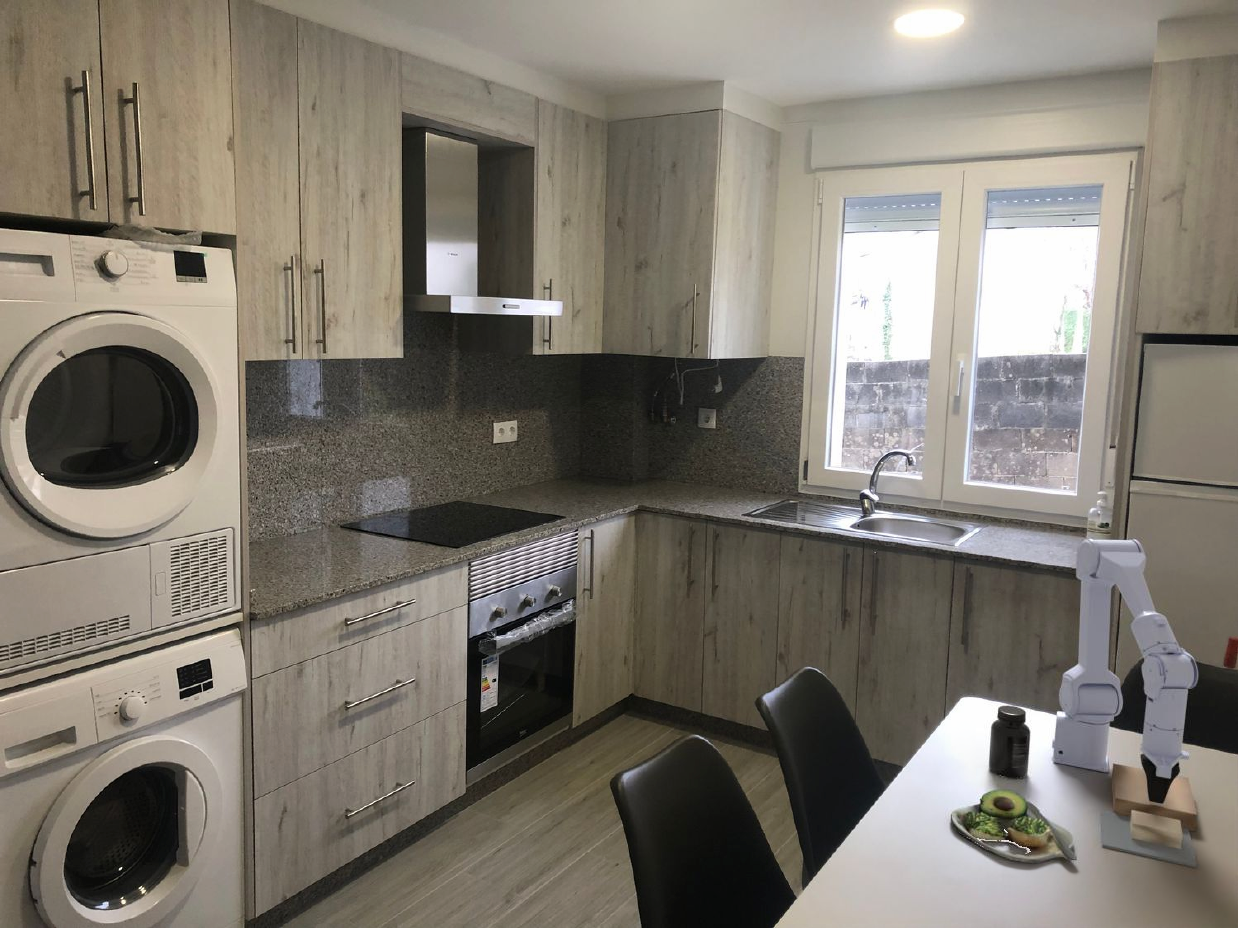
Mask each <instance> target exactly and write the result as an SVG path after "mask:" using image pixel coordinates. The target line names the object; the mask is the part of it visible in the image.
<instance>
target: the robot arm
mask: <svg viewBox="0 0 1238 928" xmlns="http://www.w3.org/2000/svg"><path fill="white" fill-rule="evenodd" d="M1075 561H1076V563H1075V567H1076V568H1075V572H1076V574H1075V576H1076V577H1075V578H1077V579H1078V580H1080V584H1081V585H1080V605H1079V606H1080V611H1079V636H1078V639H1079V640H1078V663H1077V664H1076V665H1075V666H1073V667H1072V668H1070V669H1068V670H1067V671H1065V672H1064V673H1063V674H1062V681H1061V685H1060V688H1059V691H1058V701H1059V705H1060V708H1061V710H1062V711H1059V710H1058V711H1056V719H1055V729H1054V730H1055V731H1054V738H1052V744H1051V748H1052V749H1053V753H1052V754H1053V755H1052V762H1053V763H1057V764H1061V765H1066V766H1071V767H1077V768H1082V769H1088V770H1092V771H1099V772H1102V773H1108V772H1109V756H1108V744H1109V742H1108V741H1109V733H1110V725H1111V724H1110V722H1114V721H1115V720H1114V719H1115V717H1117V716H1118V715H1120V713H1121V711H1122V709H1123V704H1124V699H1123V694H1122V690H1121V689H1122V688H1121V679H1120V678H1119V677H1118V676H1117V675H1116V674H1115V673H1113V672H1112V671H1111V670H1109V654H1110V653H1109V651H1110V631H1111V630H1110V626H1111V624H1110V623H1111V600H1112V599H1111V597H1112V587H1113V586H1114V585H1116V586H1117V588H1118V589H1117V590H1119V592H1120V594H1121V596H1122V598H1123V600H1124V601H1125V604H1126V605H1127V607H1128V609H1129V611H1130V613H1131V615H1132V616H1133V618H1134V619H1133V621H1132V622H1131V624H1130V629H1131V631H1132V634H1133V636H1134V638H1135V641H1136V643H1137V646H1138V648H1139V650H1140V653H1141V656H1142V657H1143V659H1144V661H1143V663H1142V664H1141V674H1142V679H1143V683H1144V684H1143V691H1144V694H1145V696H1146V702H1145V703H1146V704H1145V712H1144V721H1143V730H1142V731H1143V733H1142V742H1141V744H1140V748H1139V750H1140V751H1141V754H1139V756H1140V763H1141V766H1142V769H1144V771H1145V774H1146V778H1147V791H1148V798H1149V801H1150V802H1155V803H1160V804H1163V803H1164V801H1165V799H1166V796H1167V793H1168V790H1169V788H1170V785H1171V783H1172V782H1173V780H1174V779H1175V778H1176V777H1177V776H1179V775H1180V772H1181V768H1180V761H1181V760H1187V761H1188V760H1189V759H1190V753H1189V752H1188V751H1186V750H1182V748H1183V741H1184V737H1183V736H1184V730H1185V723H1186V722H1185V720H1186V711H1187V704H1188V703H1187V701H1188V694H1189V689H1193V688H1194V687H1196V686H1197V684H1198V681H1199V670H1198V665H1197V662H1196V659H1195V658H1194V657H1193V656H1192V654H1190V653H1188V652H1187V651H1186V649H1185V648H1183V647H1180V645H1179V643H1178V640H1177V639H1176V636H1175V634H1174V632H1173V630H1172V627H1171V625H1170V623H1169V621H1168V619H1167V617H1166V616H1165V615H1163V614H1161V613H1159V612H1157V611H1156V608H1155V606H1154V603H1153V600H1152V596H1151V594H1150V591H1149V588H1148V587H1149V586H1148V584H1147V581H1146V578H1145V575H1144V572H1145V569H1146V563H1147V556H1146V552H1145V550H1144V547H1143V545H1142V543H1140V541H1139V540H1137V539H1128V540H1127V539H1124V540H1123V539H1092V538H1085V539H1084V540H1083V541H1082V542H1081V543H1080V544H1079V545H1078V547H1077V549H1076V560H1075Z"/></svg>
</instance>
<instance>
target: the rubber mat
mask: <svg viewBox="0 0 1238 928" xmlns="http://www.w3.org/2000/svg"><path fill="white" fill-rule="evenodd" d="M1130 821H1131V817H1130V816H1125V815H1121V814H1116V813H1114V812H1111V811H1105V810H1100V825H1101V829H1100V830H1101V847H1102V846H1103V848H1107V849H1111V850H1116V851H1121V852H1124V853H1129V854H1132V855H1133V854H1134V855H1137V856H1140V857H1141V856H1142V857H1147V858H1151V859H1154V860H1155V859H1156V860H1159V861H1165V862H1168V863H1173V864H1179V865H1182V866H1187V867H1192V868H1197V861H1196V856H1195V853H1194V847H1193V842H1192V839H1191V834H1190V831H1189V829H1187V828H1182V827H1181V829H1182V843H1181V849H1179V848H1174V847H1170V846H1165V845H1161V844H1156V843H1152V842H1147V841H1143V840H1139V839H1134V838H1131V829H1130Z"/></svg>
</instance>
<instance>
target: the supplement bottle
mask: <svg viewBox="0 0 1238 928" xmlns="http://www.w3.org/2000/svg"><path fill="white" fill-rule="evenodd" d="M1026 713H1027V712H1026V710H1024V709H1023V708H1021V707H1019V706H1014V705H1013V706H1012V705H1001V706H999V707H998V708H997V713H996V714H997V715H996V716H997V717H996V720H994V721H993V722H992V723H991V727H990V737H989V738H990V739H989V740H990V741H989V757H988V768H989V770H990V771H991V772H992V771H993V772H994V774H995V773H996V774H995V775H997V776H999V775H1001V776H1000V777H1002V776H1003V777H1002V778H1006V777H1007V779H1014V780H1015V779H1022V778H1024V777H1026V776H1027V774H1028V771H1029V759H1030V746H1031V745H1030V744H1031V729H1030V728H1029V726H1028V725H1027V724H1026V722H1027V717H1026V715H1027V714H1026ZM993 772H992V773H993Z"/></svg>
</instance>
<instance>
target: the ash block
mask: <svg viewBox="0 0 1238 928" xmlns="http://www.w3.org/2000/svg"><path fill="white" fill-rule="evenodd" d="M1130 829H1131V838H1134V839H1139V840H1143V841H1147V842H1152V843H1156V844H1161V845H1165V846H1170V847H1174V848H1179V849H1181V843H1182V829H1181V823H1180V820H1177V819H1172V818H1167V817H1162V816H1158V815H1153V814H1148V813H1144V812H1139V811H1134V810H1132V811H1131V821H1130Z"/></svg>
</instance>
